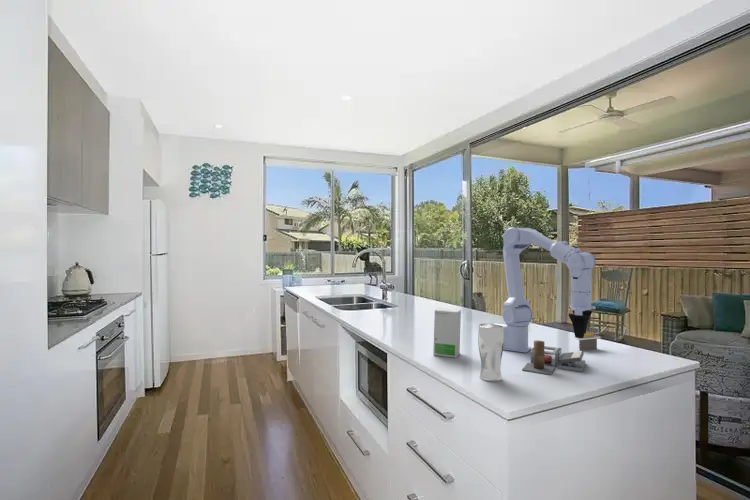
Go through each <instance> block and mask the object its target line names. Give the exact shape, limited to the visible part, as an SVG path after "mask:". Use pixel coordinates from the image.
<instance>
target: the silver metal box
mask: <svg viewBox="0 0 750 500" xmlns="http://www.w3.org/2000/svg"><path fill="white" fill-rule="evenodd" d="M562 351H563V350H562V348H561V347H553V346H547V345H546V346H545V345H544V355H550V356H555V357H554V358H552V362H544V365H547V366H554V367H556V369H559V370H564V371H565V370H567V371H573V372H579V373H583V372H584V370H585V369H584V368H585V367H586V360H583V359H582V360H581V361H578V362H567V363H560V362H559V359H560V357H561V355H562V354H563V353H562ZM530 363H533V364H534V346H533V347H531V349H530Z"/></svg>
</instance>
